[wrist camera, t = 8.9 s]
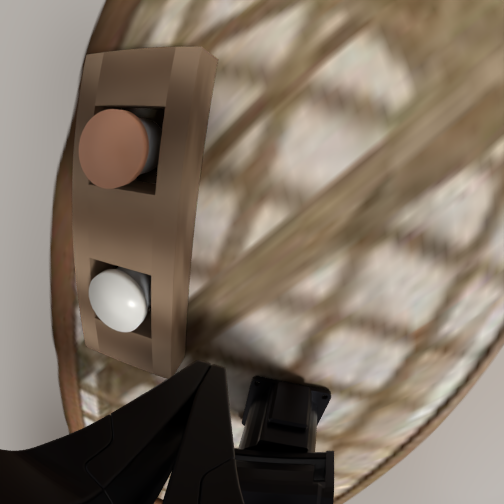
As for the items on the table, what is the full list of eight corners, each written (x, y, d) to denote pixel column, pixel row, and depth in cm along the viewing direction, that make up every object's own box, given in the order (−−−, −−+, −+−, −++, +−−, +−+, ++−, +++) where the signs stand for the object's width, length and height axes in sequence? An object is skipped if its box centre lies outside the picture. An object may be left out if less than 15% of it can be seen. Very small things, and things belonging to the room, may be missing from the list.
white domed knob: (164, 314, 23) (142, 340, 20) (116, 298, 23) (91, 320, 20) (166, 261, 21) (141, 283, 18) (114, 248, 22) (86, 266, 18)
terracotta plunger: (167, 184, 19) (137, 193, 15) (111, 175, 19) (76, 184, 16) (175, 114, 17) (146, 109, 14) (117, 111, 17) (82, 109, 14)
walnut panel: (184, 356, 24) (171, 379, 21) (104, 328, 25) (85, 346, 22) (218, 59, 16) (201, 46, 13) (112, 61, 17) (86, 54, 14)
